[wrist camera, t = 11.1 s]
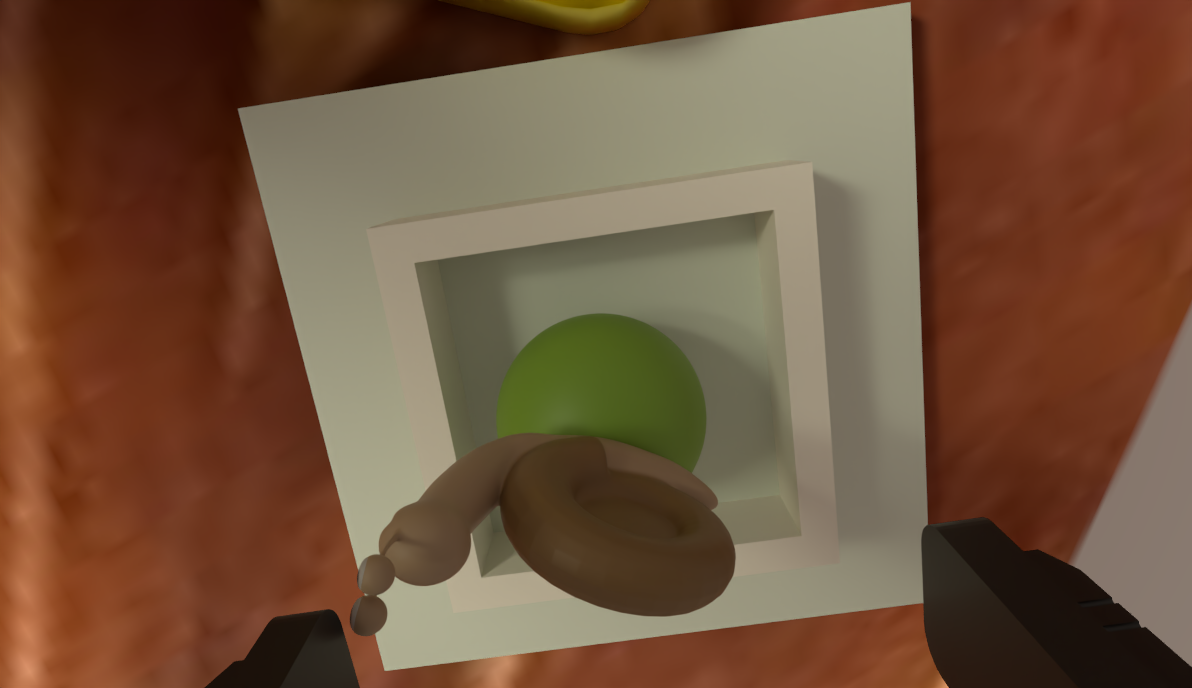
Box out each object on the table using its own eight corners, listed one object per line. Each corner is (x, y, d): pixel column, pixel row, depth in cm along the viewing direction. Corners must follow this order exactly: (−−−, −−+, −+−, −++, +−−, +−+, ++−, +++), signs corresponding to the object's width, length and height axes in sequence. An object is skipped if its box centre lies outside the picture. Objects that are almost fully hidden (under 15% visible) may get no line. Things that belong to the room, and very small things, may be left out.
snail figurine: (495, 267, 21) (377, 418, 9) (713, 318, 21) (861, 524, 10) (459, 440, 22) (316, 763, 11) (664, 485, 23) (743, 842, 11)
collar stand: (254, 110, 21) (187, 103, 17) (895, 9, 20) (956, -19, 17) (392, 650, 25) (361, 728, 22) (917, 584, 25) (968, 653, 21)
